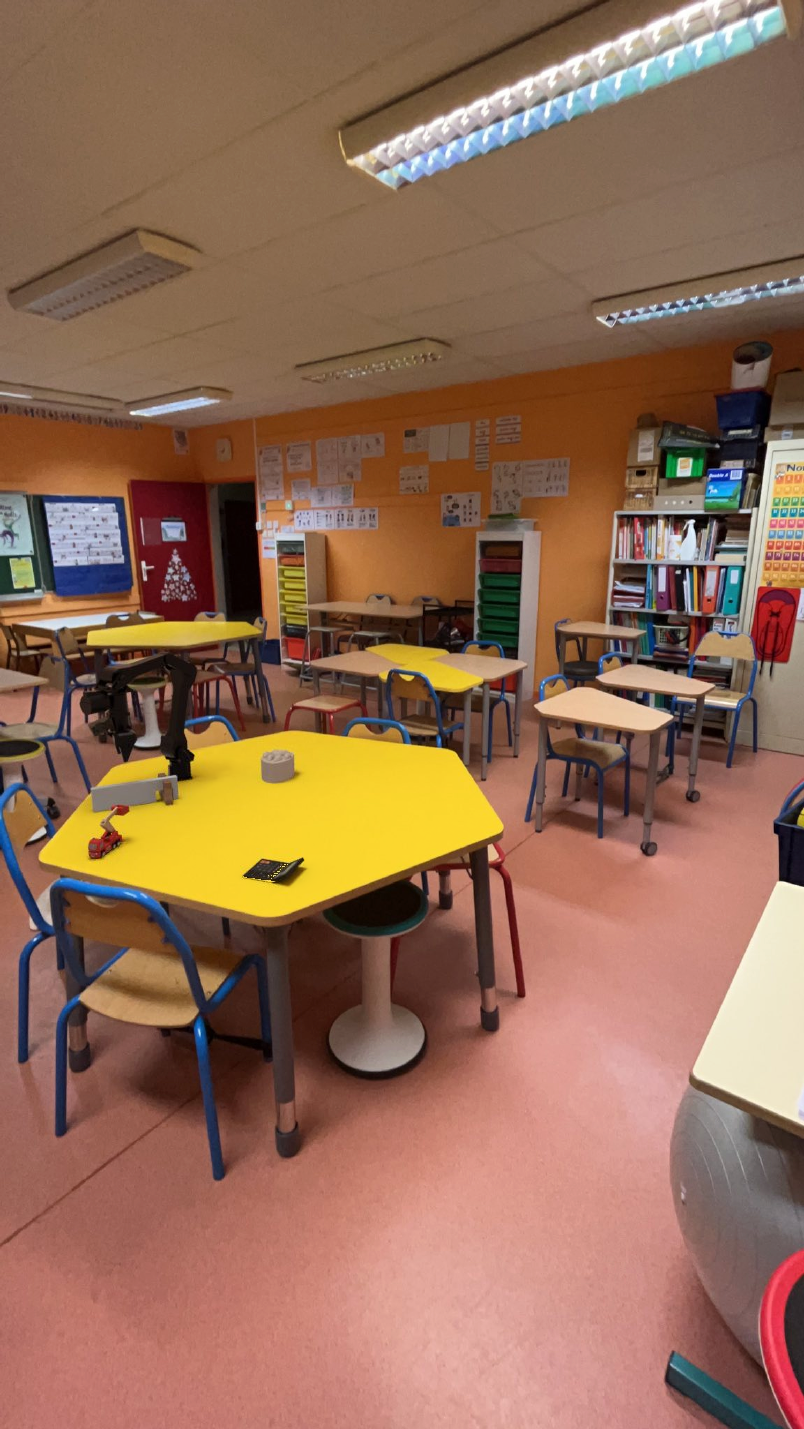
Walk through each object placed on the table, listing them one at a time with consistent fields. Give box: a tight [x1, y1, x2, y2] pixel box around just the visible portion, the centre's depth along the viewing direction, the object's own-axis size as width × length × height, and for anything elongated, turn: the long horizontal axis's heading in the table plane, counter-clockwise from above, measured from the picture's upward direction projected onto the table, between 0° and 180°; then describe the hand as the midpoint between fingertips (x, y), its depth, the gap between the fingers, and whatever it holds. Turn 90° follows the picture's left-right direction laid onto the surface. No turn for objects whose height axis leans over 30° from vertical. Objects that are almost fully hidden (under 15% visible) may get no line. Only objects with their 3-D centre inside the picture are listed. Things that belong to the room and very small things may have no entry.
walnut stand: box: [157, 772, 174, 806], centre depth 200 cm, size 10×2×7 cm, turn 31°
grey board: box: [90, 775, 179, 813], centre depth 196 cm, size 24×2×7 cm, turn 121°
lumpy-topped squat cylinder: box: [260, 749, 296, 784], centre depth 222 cm, size 10×13×9 cm
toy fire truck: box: [87, 805, 130, 859], centre depth 166 cm, size 3×14×10 cm, turn 168°
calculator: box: [242, 857, 305, 882], centre depth 156 cm, size 9×12×3 cm
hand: (122, 757), depth 200 cm, fingers open, 9 cm apart
